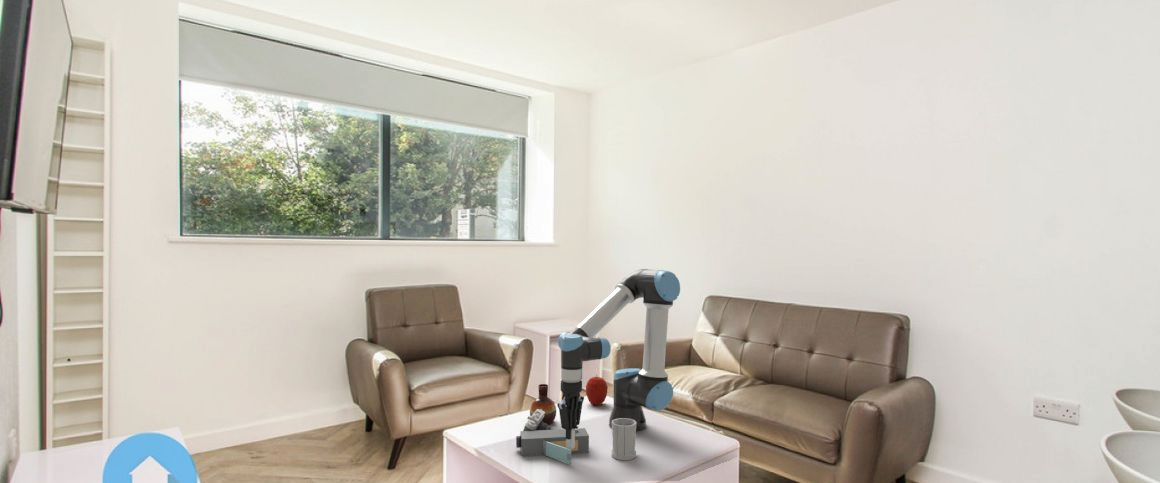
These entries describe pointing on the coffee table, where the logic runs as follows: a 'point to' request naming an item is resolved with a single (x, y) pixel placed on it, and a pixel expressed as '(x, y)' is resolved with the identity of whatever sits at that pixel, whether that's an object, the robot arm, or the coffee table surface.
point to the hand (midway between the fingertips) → (570, 447)
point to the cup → (623, 438)
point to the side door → (557, 452)
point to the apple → (596, 390)
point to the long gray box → (550, 440)
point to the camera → (536, 422)
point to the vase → (544, 405)
